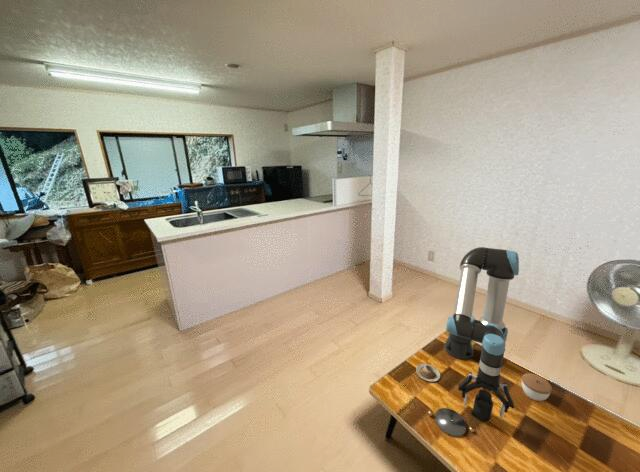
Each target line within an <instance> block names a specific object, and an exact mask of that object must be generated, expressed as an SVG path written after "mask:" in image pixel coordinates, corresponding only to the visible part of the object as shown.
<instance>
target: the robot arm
mask: <svg viewBox="0 0 640 472" xmlns="http://www.w3.org/2000/svg"><path fill="white" fill-rule="evenodd" d="M519 257H520V256H519V254H518V252H517V251H514V250H508V249H502V248H501V249H500V248H491V247H485V246H481V247H475V248H473V249H470V250H469V251H468V252H467V253H466V254H465V255H464V256H463V258H462V259H461V261H460V263H459V270H460V277H459V281H458V287H457V293H456V299H455V304H454V310H453V314H452V315H451V316H447V317H448V318H447V320H446V321H447V322H446V326H445V327H446V328H445V329H446V332H447V333H448V337H447V338H446V341H444V350H445V351H446V353H447V354H448V355H450V356H451V357H453V358H455V359H458V360H463V361H465V360H469V359H472V358H473V357H474V353H475V351H474V346H473V344H472V342H476V343H479V344H481V350H480V351H481V352H480V358H479V359H480V360H479V364H478V369H477V374H476V375H474V374H473V373H472V372H469V371H468V374H467V376H466V377H465V378H464V379H463V380H462V381H460V383H458V387H457V389H458V391H461V398H463V406H464V407H466V406H467V401H468V393H469V392H472V391H473V390H475V389H485V390H487V391H489V392H493V393H494V395H496V397H498V399H499V400H500V402H501V405H500V406H501V407H500V410H499V418H500V420H503V419H504V415H505V413H506V414H507V413H508V411H509V409H510V408H512V409H514V408H515V403H514V401H513V399H512V396H511V394H510V392H509V390H508V384H507V382H503V383H500V378H501V373H502V372H501V370H502V367H503V361H504V354H505V351H506V342H507V338H508V333H509V329H508V328H507V327H506V324H505V322H504V320H503V319H504V313H505V309H506V301H507V298H508V291H509V286H510V281H511V280H514V279H515V276H519V272H520V271H519V270H520V261H519ZM482 270H483V271H486V275H487V276H488V277H489V278H488V282H487V283H488V284H487V291H486V297H485V302H484V303H485V305H484V309H483V315H482V316H480V317H479V320H478V319H475V316H474V315H473V310H474V304H475V296H476V291H477V283H478V276H479V274H481V272H482ZM474 380H475V381H474ZM472 381H473V382H472ZM499 388H501V390H502V391H503V393H504V395H505V396H504V395H503V393H502V391H500V390H499Z"/></svg>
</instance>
